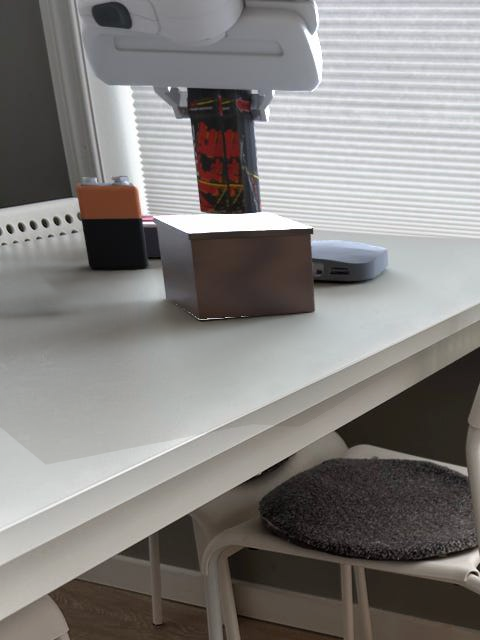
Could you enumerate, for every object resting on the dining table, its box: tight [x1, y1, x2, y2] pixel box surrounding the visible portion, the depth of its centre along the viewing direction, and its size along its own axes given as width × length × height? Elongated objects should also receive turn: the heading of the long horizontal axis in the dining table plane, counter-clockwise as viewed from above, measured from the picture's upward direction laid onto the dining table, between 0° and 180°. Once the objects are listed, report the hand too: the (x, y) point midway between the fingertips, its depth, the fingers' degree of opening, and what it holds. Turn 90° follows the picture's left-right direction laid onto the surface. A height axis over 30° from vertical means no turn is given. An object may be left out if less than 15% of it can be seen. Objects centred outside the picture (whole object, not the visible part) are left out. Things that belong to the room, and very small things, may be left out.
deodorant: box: [186, 88, 262, 215], centre depth 91 cm, size 6×6×15 cm
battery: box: [75, 175, 149, 271], centre depth 114 cm, size 4×7×10 cm, turn 111°
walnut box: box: [153, 212, 316, 319], centre depth 97 cm, size 12×12×8 cm
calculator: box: [142, 213, 203, 258], centre depth 128 cm, size 11×4×15 cm
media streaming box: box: [311, 239, 389, 282], centre depth 117 cm, size 15×15×3 cm
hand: (222, 115), depth 91 cm, fingers closed on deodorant, 6 cm apart
